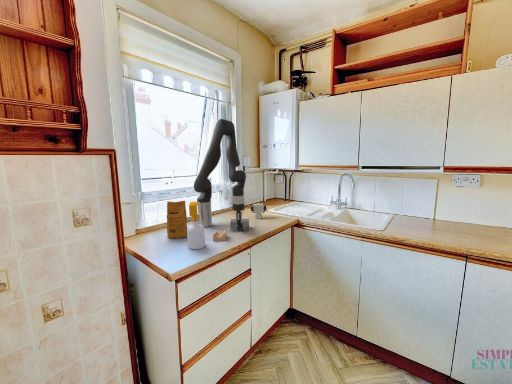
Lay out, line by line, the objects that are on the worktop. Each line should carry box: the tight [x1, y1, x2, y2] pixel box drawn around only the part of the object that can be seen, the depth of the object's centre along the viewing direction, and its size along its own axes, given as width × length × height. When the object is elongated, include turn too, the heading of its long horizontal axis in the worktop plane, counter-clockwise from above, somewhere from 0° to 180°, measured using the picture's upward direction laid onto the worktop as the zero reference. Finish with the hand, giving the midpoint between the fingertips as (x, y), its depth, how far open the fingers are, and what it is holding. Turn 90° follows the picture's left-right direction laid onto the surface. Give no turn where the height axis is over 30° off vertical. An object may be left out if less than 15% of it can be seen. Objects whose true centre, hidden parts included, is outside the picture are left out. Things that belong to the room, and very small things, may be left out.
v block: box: [212, 229, 227, 242], centre depth 137 cm, size 7×7×4 cm
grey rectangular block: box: [229, 218, 250, 232], centre depth 154 cm, size 7×12×6 cm, turn 91°
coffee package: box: [166, 200, 188, 239], centre depth 142 cm, size 10×12×22 cm
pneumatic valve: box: [250, 202, 267, 220], centre depth 179 cm, size 6×12×12 cm, turn 91°
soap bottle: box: [186, 201, 206, 250], centre depth 124 cm, size 9×9×25 cm
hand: (239, 229), depth 148 cm, fingers closed
